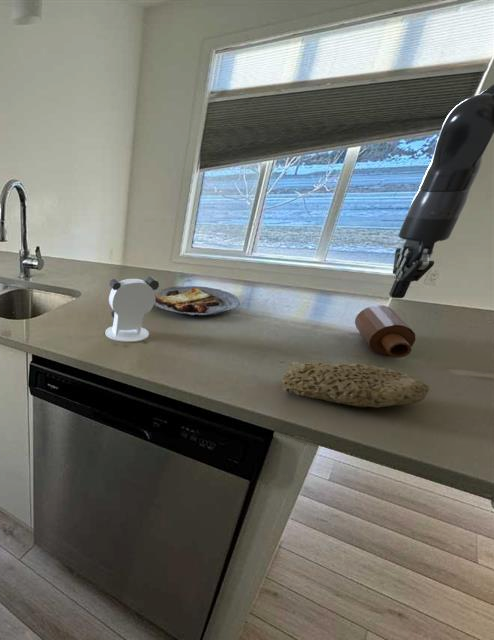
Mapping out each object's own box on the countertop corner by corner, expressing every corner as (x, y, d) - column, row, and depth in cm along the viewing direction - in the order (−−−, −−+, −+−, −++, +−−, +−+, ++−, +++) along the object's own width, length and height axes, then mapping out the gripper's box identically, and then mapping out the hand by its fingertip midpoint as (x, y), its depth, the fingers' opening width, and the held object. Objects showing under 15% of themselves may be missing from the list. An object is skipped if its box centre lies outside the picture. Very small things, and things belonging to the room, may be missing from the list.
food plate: (179, 325, 112) (182, 313, 111) (133, 300, 132) (134, 290, 130) (255, 311, 117) (259, 299, 115) (200, 289, 136) (202, 279, 135)
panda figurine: (143, 324, 115) (150, 272, 108) (157, 340, 105) (165, 284, 98) (101, 327, 116) (104, 275, 108) (111, 343, 106) (116, 288, 98)
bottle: (400, 306, 94) (431, 336, 81) (387, 334, 98) (415, 367, 84) (361, 304, 97) (384, 332, 84) (350, 331, 101) (370, 363, 87)
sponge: (278, 404, 79) (428, 422, 65) (281, 366, 77) (436, 375, 63) (291, 388, 88) (426, 400, 74) (294, 353, 86) (433, 358, 72)
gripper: (475, 219, 75) (430, 308, 83) (443, 208, 85) (406, 288, 93) (421, 220, 78) (383, 305, 86) (396, 209, 88) (365, 287, 96)
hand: (395, 296), depth 90 cm, fingers closed
